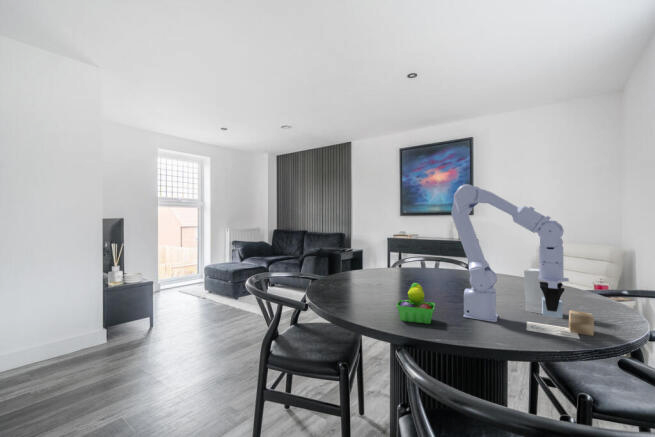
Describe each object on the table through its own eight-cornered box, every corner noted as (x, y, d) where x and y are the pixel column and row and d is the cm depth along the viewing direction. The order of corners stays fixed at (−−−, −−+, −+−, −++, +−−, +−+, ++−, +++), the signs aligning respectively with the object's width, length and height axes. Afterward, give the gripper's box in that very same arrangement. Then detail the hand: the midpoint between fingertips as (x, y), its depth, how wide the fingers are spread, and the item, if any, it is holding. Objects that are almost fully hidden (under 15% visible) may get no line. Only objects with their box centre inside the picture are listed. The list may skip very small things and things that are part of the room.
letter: (526, 330, 89) (526, 330, 89) (526, 321, 96) (526, 321, 96) (580, 339, 82) (580, 338, 82) (575, 329, 90) (575, 328, 90)
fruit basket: (396, 321, 97) (396, 285, 97) (400, 313, 105) (400, 280, 105) (434, 326, 93) (433, 288, 93) (435, 317, 101) (435, 283, 101)
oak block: (570, 331, 87) (571, 314, 87) (568, 326, 91) (569, 310, 91) (593, 336, 84) (594, 318, 84) (590, 330, 89) (591, 313, 88)
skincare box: (559, 314, 104) (558, 270, 104) (551, 317, 101) (551, 272, 101) (531, 308, 111) (531, 267, 111) (523, 310, 108) (523, 268, 108)
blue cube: (543, 315, 88) (543, 300, 88) (542, 312, 92) (541, 297, 92) (562, 318, 86) (562, 302, 86) (560, 314, 90) (560, 299, 90)
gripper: (571, 266, 81) (571, 317, 81) (566, 260, 93) (566, 304, 93) (539, 264, 85) (539, 313, 85) (537, 258, 97) (538, 301, 97)
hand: (551, 308), depth 89 cm, fingers closed on blue cube, 5 cm apart
